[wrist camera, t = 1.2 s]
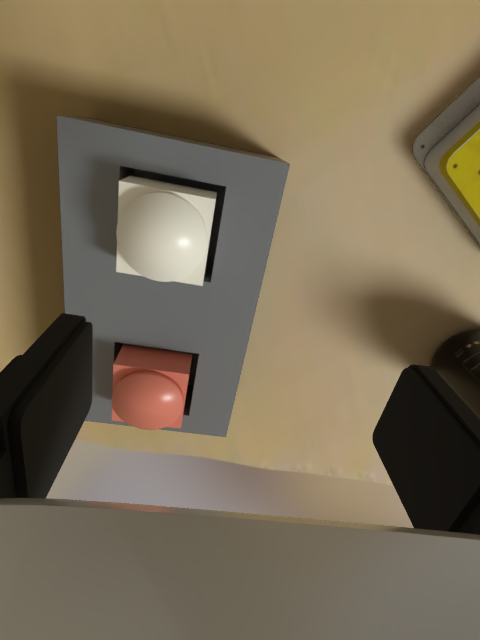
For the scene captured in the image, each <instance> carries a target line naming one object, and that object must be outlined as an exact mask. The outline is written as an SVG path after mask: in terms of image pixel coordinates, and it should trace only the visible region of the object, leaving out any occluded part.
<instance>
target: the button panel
mask: <svg viewBox="0 0 480 640" xmlns="http://www.w3.org/2000/svg"><path fill="white" fill-rule="evenodd" d="M56 116H57V140H58V163H59V186H60V210H61V233H62V256H63V280H64V303H65V314H72V315H79V316H84V317H85V318H86V322H91V323H92V327H93V353H92V404H91V407H90V410H89V412H88V414H87V416H86V418H85V420H84V421H91V422H100V423H109V424H117V425H126V426H131V425H129V424H127V423H126V422H120V421H112V394H113V364H114V362H115V360H116V358H117V356H118V354H119V352H120V350H121V348H122V346H123V344H125V345H132V346H139V347H146V348H154V349H161V350H168V351H175V352H182V353H189V354H192V360H191V366H190V373H189V379H188V386H187V393H186V399H185V406H184V412H183V418H182V425H181V429H180V428H172V427H164V428H161V429H160V430H169V431H178V432H186V433H195V434H204V435H212V436H221V437H226V434H227V430H228V425H229V421H230V417H231V413H232V408H233V404H234V400H235V396H236V391H237V387H238V383H239V379H240V374H241V370H242V366H243V361H244V357H245V353H246V349H247V344H248V340H249V336H250V332H251V327H252V323H253V319H254V315H255V310H256V306H257V302H258V297H259V293H260V289H261V285H262V280H263V276H264V272H265V268H266V263H267V259H268V255H269V251H270V246H271V242H272V238H273V233H274V229H275V225H276V221H277V216H278V212H279V208H280V204H281V199H282V195H283V191H284V187H285V182H286V178H287V174H288V169H289V165H290V164H289V163H287V162H285V161H284V160H282V159H280V158H276V157H272V156H267V155H262V154H257V153H252V152H248V151H243V150H238V149H233V148H229V147H224V146H219V145H214V144H209V143H205V142H200V141H195V140H190V139H186V138H181V137H176V136H171V135H167V134H162V133H157V132H152V131H147V130H143V129H138V128H133V127H128V126H124V125H119V124H114V123H109V122H105V121H100V120H95V119H90V118H81V117H70V116H59V115H56ZM128 176H136V177H141V178H147V179H152V180H157V181H162V182H167V183H172V184H177V185H183V186H188V187H193V188H198V189H203V190H208V191H213V192H217V196H216V202H215V209H214V215H213V222H212V228H211V235H210V242H209V248H208V255H207V261H206V268H205V274H204V280H203V286H199V285H193V284H187V283H181V282H175V281H171V282H161V281H155V280H151V279H149V278H146V277H144V276H138V275H132V274H126V273H120V272H116V261H117V236H116V230H117V224H118V195H119V181H120V180H122V179H124V178H126V177H128Z"/></svg>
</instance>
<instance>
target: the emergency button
mask: <svg viewBox="0 0 480 640" xmlns="http://www.w3.org/2000/svg"><path fill="white" fill-rule="evenodd" d="M412 151H413V154H414V156H415V159H416V160H417V161H418V163H419V164H420V166H421V167H422V168H423V170H424V171H425V172H426V174H427V175H428V176H429V178H430V179H431V181H432V182H433V183H434V185H435V186H436V187H437V189H438V190H439V192H440V193H441V194H442V196H443V197H444V198H445V200H446V201H447V202H448V204H449V205H450V207H451V208H452V209H453V211H454V212H455V213H456V215H457V216H458V218H459V219H460V220H461V222H462V223H463V224H464V226H465V227H466V229H467V230H468V231H469V233H470V234H471V235H472V237H473V238H474V239H475V241H476V242H477V244H478V245H479V246H480V77H479V78H478V79H477V80H475V81H474V82H473V83H472V84H471V85H470V86H469V87H468V88H467V89H466V90H465V91H464V92H463V93H462V94H461V95H460V96H459V97H458V98H457V99H456V100H455V101H454V102H452V103H451V104H450V105H449V106H448V107H447V108H446V109H445V110H444V111H443V112H442V113H441V114H440V115H439V116H438V117H437V118H436V119H435V120H434V121H433V122H432V123H430V124H429V125H428V126H427V127H426V128H425V129H424V130H423V131H422V132H421V133H420V134H419V135H418V136H417V138H416V139H415V141H414V142H413V150H412Z"/></svg>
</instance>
